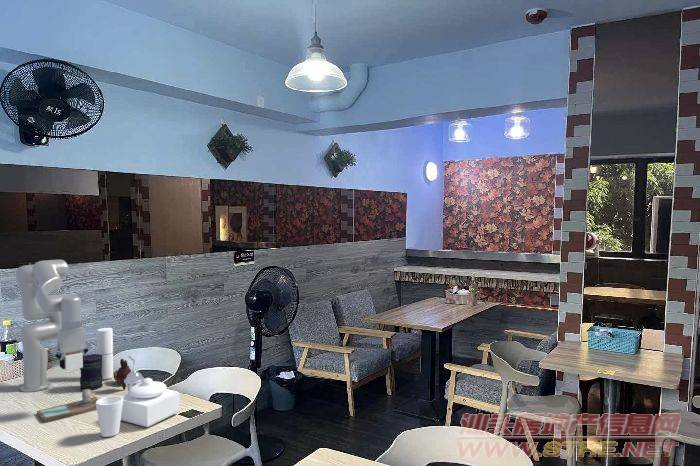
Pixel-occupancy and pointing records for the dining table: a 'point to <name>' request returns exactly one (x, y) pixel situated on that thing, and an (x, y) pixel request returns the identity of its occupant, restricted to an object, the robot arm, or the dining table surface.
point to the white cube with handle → (73, 360)
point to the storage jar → (91, 372)
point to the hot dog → (116, 378)
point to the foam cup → (109, 414)
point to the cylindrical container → (106, 351)
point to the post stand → (69, 408)
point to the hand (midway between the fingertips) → (71, 366)
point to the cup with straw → (133, 377)
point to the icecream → (123, 372)
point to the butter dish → (149, 403)
